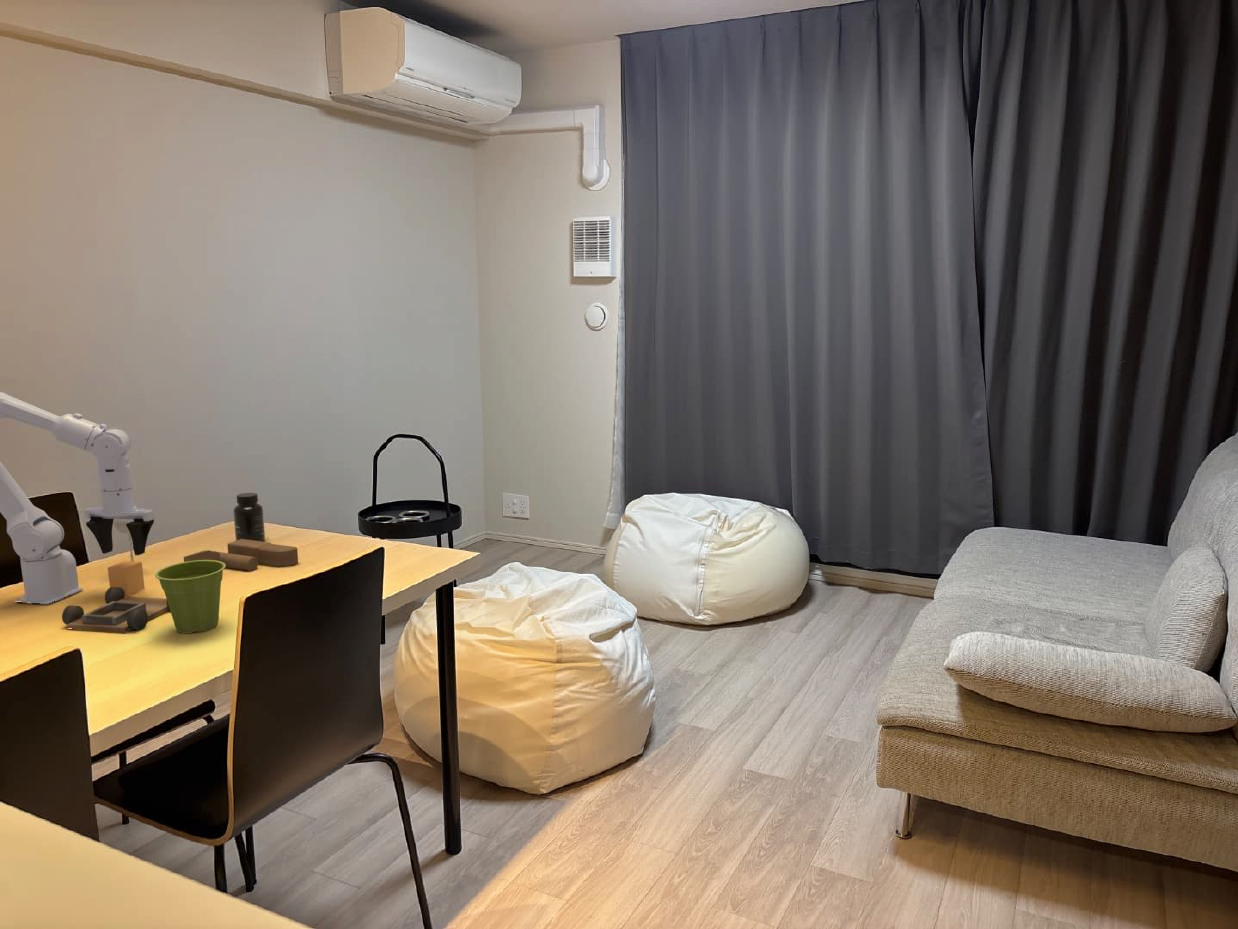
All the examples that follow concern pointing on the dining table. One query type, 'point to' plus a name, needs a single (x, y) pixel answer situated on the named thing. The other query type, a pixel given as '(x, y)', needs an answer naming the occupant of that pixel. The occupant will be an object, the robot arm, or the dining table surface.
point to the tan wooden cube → (127, 576)
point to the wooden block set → (250, 555)
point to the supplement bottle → (249, 518)
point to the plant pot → (193, 593)
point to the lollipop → (124, 530)
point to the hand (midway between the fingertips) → (123, 553)
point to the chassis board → (116, 613)
